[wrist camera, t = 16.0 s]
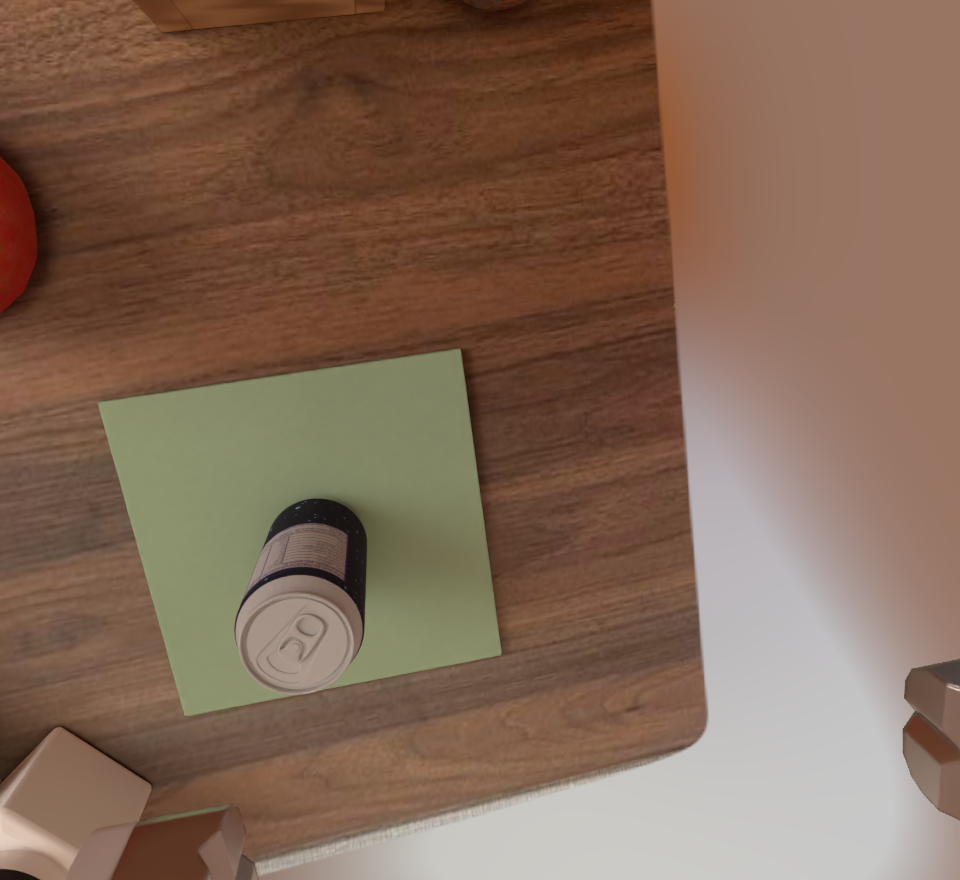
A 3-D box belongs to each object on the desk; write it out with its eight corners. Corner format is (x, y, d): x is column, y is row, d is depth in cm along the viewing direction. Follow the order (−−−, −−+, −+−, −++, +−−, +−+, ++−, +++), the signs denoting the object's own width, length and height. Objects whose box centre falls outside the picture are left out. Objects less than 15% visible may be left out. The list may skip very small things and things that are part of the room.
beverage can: (251, 553, 41) (203, 667, 30) (302, 475, 41) (273, 561, 29) (334, 598, 43) (319, 723, 31) (385, 524, 42) (389, 624, 31)
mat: (460, 347, 41) (461, 349, 40) (500, 651, 46) (502, 655, 46) (100, 400, 39) (96, 402, 38) (186, 712, 44) (184, 717, 43)
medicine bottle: (-17, 799, 43) (-158, 995, 32) (59, 722, 43) (-56, 892, 31) (81, 857, 45) (-18, 1061, 34) (155, 784, 45) (80, 965, 33)
